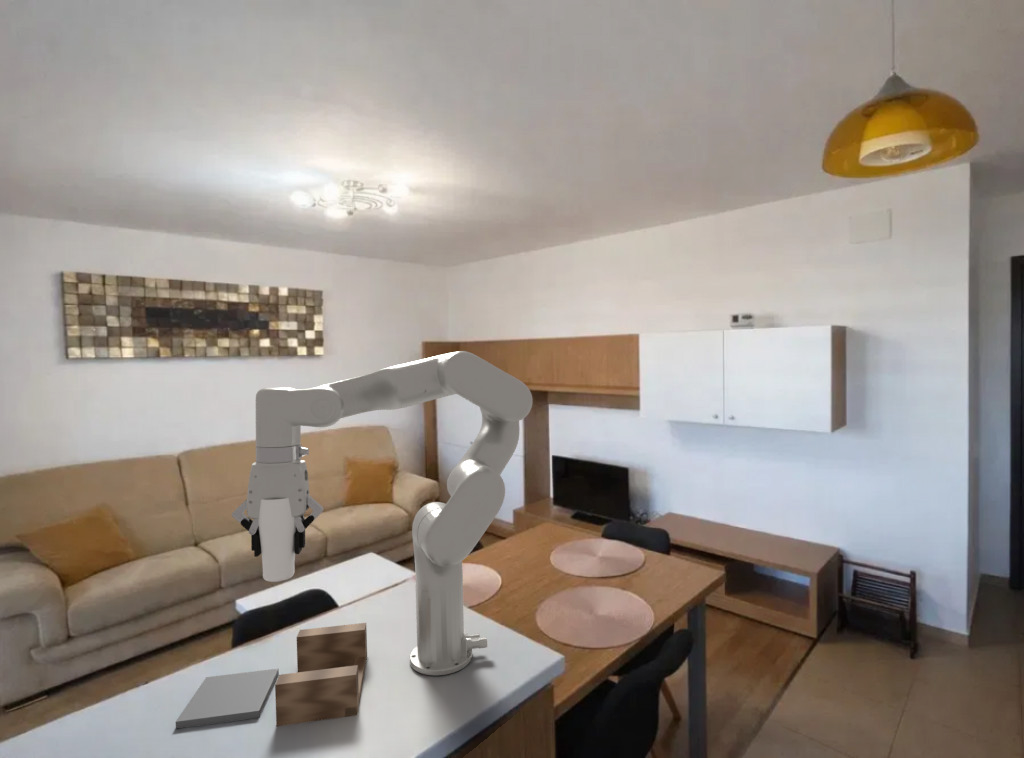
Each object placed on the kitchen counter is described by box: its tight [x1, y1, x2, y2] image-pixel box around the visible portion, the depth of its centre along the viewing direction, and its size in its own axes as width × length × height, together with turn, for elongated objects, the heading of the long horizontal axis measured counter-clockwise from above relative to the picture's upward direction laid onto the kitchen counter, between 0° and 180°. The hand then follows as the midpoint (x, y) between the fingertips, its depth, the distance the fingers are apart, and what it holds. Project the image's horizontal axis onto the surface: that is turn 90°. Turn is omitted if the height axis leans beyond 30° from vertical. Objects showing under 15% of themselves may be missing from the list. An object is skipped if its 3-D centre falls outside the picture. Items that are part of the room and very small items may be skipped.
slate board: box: [175, 668, 280, 729], centre depth 95 cm, size 13×13×1 cm
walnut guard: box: [274, 622, 368, 727], centre depth 98 cm, size 13×19×7 cm
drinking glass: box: [258, 498, 297, 583], centre depth 96 cm, size 7×7×15 cm
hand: (278, 552), depth 96 cm, fingers closed on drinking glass, 6 cm apart
